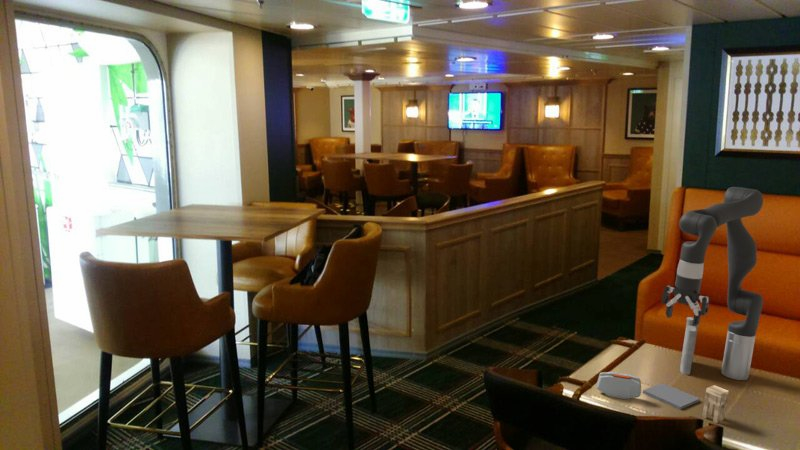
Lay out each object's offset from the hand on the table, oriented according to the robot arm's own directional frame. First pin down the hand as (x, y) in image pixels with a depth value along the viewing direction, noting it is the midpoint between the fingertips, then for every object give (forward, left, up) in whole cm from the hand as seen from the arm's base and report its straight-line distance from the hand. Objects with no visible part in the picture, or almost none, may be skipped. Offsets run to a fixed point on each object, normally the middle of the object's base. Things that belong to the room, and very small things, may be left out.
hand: (681, 321), depth 205 cm
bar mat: (-5, -3, -29) cm, 30 cm away
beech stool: (-3, +13, -29) cm, 32 cm away
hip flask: (-35, -15, -30) cm, 49 cm away
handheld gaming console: (+11, -13, -30) cm, 34 cm away
